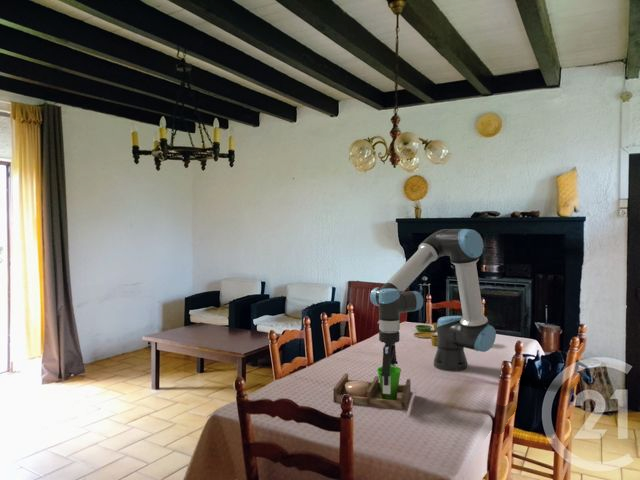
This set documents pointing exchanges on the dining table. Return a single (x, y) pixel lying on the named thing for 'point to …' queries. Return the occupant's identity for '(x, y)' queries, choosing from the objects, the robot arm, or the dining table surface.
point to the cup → (394, 382)
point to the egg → (356, 388)
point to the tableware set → (427, 333)
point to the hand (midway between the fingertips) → (389, 387)
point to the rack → (374, 394)
